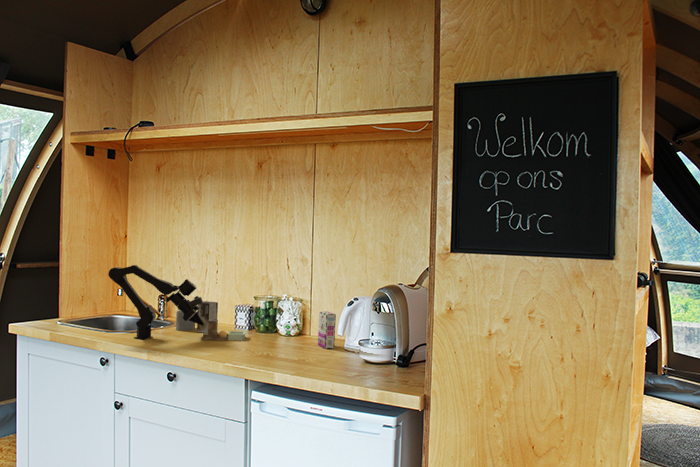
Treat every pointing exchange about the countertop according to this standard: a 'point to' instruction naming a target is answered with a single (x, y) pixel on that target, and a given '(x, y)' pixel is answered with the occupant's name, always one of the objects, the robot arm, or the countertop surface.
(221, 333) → the ball
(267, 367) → the countertop surface
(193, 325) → the coffee mug
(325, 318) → the candy bar box
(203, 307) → the coffee box
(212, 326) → the brown wooden box
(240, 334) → the grey-green flat block
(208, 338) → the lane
